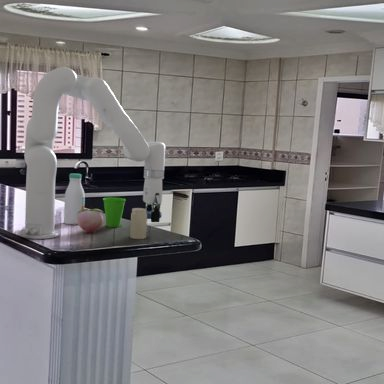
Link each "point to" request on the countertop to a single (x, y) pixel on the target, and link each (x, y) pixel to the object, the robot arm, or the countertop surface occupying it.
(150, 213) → the jar lid
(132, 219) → the jar
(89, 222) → the decorative fruit
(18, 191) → the countertop surface
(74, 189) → the milk bottle
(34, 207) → the robot arm
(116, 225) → the cup
